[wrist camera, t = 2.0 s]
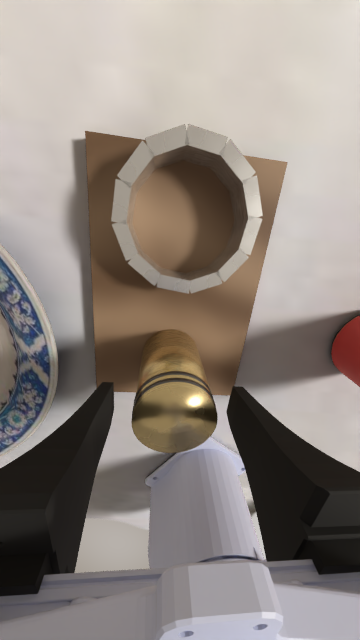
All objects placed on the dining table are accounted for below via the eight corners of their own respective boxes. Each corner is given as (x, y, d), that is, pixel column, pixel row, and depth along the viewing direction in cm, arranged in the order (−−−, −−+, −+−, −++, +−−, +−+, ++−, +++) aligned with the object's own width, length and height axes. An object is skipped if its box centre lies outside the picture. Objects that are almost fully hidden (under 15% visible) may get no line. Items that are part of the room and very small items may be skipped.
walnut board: (228, 388, 21) (231, 395, 20) (99, 383, 20) (96, 391, 19) (279, 166, 15) (287, 162, 14) (90, 137, 13) (85, 130, 12)
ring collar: (186, 304, 17) (190, 316, 14) (94, 224, 14) (81, 223, 12) (269, 218, 15) (289, 216, 12) (181, 108, 12) (185, 80, 10)
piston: (172, 386, 19) (177, 464, 13) (130, 357, 18) (113, 428, 11) (209, 351, 18) (235, 416, 12) (168, 317, 17) (171, 370, 10)
